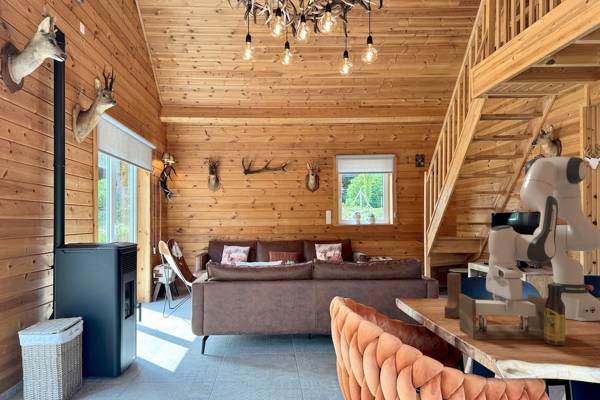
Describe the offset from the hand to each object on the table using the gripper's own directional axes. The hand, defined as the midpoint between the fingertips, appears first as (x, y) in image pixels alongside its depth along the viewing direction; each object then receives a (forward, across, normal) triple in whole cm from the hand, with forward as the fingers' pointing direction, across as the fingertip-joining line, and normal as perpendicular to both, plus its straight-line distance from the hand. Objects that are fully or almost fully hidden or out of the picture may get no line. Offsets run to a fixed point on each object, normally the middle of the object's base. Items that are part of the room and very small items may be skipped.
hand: (503, 308), depth 152 cm
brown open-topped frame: (+9, 0, 0) cm, 9 cm away
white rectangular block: (+2, 0, 0) cm, 2 cm away
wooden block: (+10, -28, -8) cm, 31 cm away
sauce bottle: (+10, +11, +12) cm, 19 cm away
